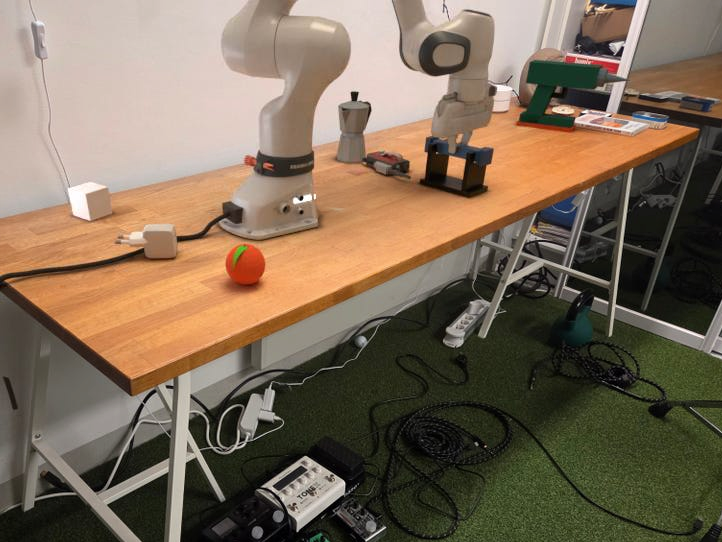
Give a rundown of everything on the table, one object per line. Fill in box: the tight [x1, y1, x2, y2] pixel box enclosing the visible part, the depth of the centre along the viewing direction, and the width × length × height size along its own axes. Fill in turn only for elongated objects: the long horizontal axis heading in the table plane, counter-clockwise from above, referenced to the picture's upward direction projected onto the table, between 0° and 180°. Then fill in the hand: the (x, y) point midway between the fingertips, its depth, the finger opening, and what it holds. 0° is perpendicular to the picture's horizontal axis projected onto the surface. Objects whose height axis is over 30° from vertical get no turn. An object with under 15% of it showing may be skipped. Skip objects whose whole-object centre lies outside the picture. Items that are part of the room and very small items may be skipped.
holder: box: [418, 138, 489, 199], centre depth 151 cm, size 8×15×10 cm, turn 44°
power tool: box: [515, 59, 632, 133], centre depth 202 cm, size 32×7×20 cm, turn 58°
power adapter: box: [114, 223, 178, 259], centre depth 115 cm, size 11×5×6 cm, turn 93°
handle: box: [424, 135, 495, 167], centre depth 149 cm, size 4×17×4 cm, turn 43°
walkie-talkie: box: [362, 150, 412, 180], centre depth 163 cm, size 9×4×20 cm
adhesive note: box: [67, 181, 113, 222], centre depth 134 cm, size 6×6×6 cm
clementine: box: [225, 243, 266, 285], centre depth 105 cm, size 8×7×7 cm
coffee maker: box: [336, 90, 373, 164], centre depth 170 cm, size 15×9×18 cm, turn 143°
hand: (457, 151), depth 149 cm, fingers closed on handle, 2 cm apart
